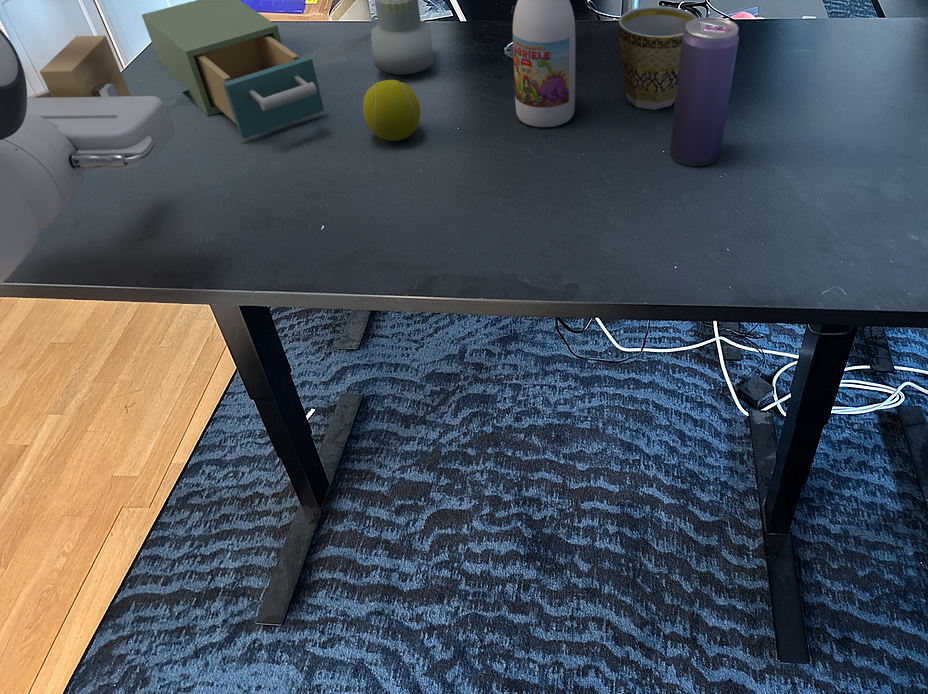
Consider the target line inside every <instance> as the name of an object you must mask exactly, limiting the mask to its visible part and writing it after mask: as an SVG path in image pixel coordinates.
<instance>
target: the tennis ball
mask: <svg viewBox="0 0 928 694" xmlns="http://www.w3.org/2000/svg"><path fill="white" fill-rule="evenodd" d="M362 113H363V118H364V121H365V123H366V125H367V127H368V128H369V130H370V131H371V132H372V133H373V134H374V135H375V136H376V137H378V138H379V139H382V140H385V141H389V142H399V141H402V140H405V139H407V138H408V137H410V136H412V134H414V132H416V129H418V126H419V123H420V119H421V106H420V102H419V99H418V97H417V95H416V94H415V91H414V90H413V89H412V88H411V87H410V86H409V85H408V84H406V83H405V82H401V81H400V80H397V79H386V80H382V81H378V82H375V83H374V84H373V85H372V86H371V87H370V88H368V89H367V90H366V93H365V95H364V97H363V102H362Z"/></svg>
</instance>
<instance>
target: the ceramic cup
mask: <svg viewBox="0 0 928 694" xmlns="http://www.w3.org/2000/svg"><path fill="white" fill-rule="evenodd" d="M696 18H698V17H697V16H696V15H695V14H693V13H691V12H690V11H687V10H685V9H681V8H678V7H674V6H664V5H650V6H649V5H648V6H642V7H636V8H633V9H630V10H628V11H626V12H624V13H623V14H621V15H620V16H619V18H618V21H617V24H618V25H617V27H618V40H619V49H620V54H621V61H622V62H621V63H622V72H623V80H624V91H625V98H626V99H627V101H628V102H630V103H631V104H632V105H633V106H634V107H636V108H637V109H645V110H652V111H655V110H659V109H663V108H667V107H671V106H673V104H675V100H676V91H677V82H678V73H679V64H680V55H681V46H682V37H683V34H684V32H685V26H686V24H687V23H688V22H689V21H691V20H693V19H696Z"/></svg>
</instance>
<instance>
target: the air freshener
mask: <svg viewBox="0 0 928 694" xmlns="http://www.w3.org/2000/svg"><path fill="white" fill-rule="evenodd" d="M374 6H375V12H376V18H377V25H375V26H374V27H373V28H372V29H371V31H370V34H371V37H370V38H371V49H372V55H373V61H374V65H375V68H376V69H379V70H380V71H382V72H385V73H388V74H392V75H396V76H397V75H398V76H399V75H400V76H405V75H414V74H418V73H420V72H422V71H424V70H426V69H428V68H429V67H431V66H432V65H433V64H434V63H435V57H434V49H433V42H432V32H431V25H430V24H429V23H427V22H425V21H423V20H421V13H420V7H419V6H420V5H419V0H374Z"/></svg>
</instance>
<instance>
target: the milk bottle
mask: <svg viewBox="0 0 928 694" xmlns="http://www.w3.org/2000/svg"><path fill="white" fill-rule="evenodd" d="M512 17H513V18H512V51H513V52H512V56H513V57H512V60H513V79H514V100H515V101H514V102H515V112H516V116H517V118H518V120H519V121H521V123H523V124H525V125H528V126H531V127H535V128H552V127H558V126H560V125H563V124H565V123H566V124H567V122H569V121H570V120H571V119H572V118H573V116H574V114H575V109H576V21H575V15H574V10H573V7H572V3H571V0H517V2H516V5H515V9H514V12H513V16H512Z"/></svg>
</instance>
